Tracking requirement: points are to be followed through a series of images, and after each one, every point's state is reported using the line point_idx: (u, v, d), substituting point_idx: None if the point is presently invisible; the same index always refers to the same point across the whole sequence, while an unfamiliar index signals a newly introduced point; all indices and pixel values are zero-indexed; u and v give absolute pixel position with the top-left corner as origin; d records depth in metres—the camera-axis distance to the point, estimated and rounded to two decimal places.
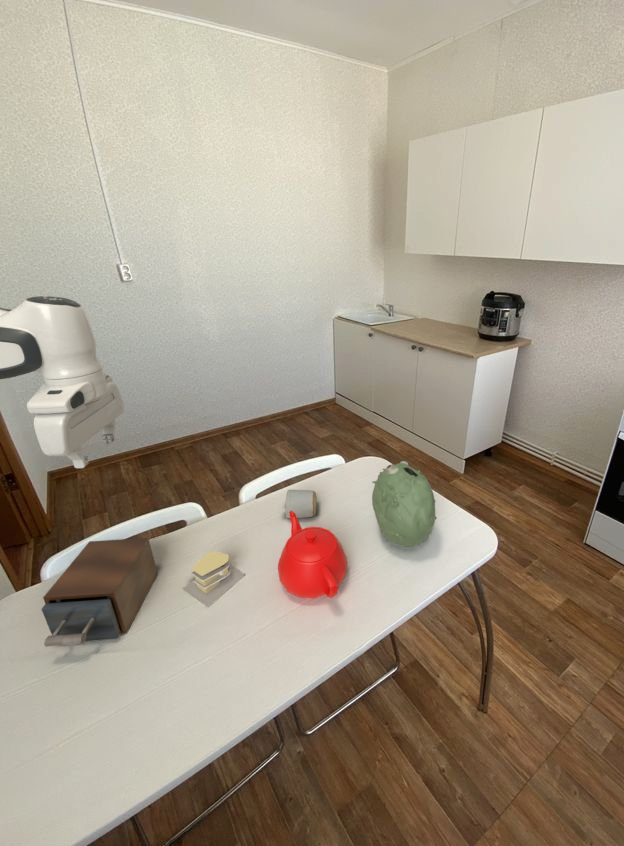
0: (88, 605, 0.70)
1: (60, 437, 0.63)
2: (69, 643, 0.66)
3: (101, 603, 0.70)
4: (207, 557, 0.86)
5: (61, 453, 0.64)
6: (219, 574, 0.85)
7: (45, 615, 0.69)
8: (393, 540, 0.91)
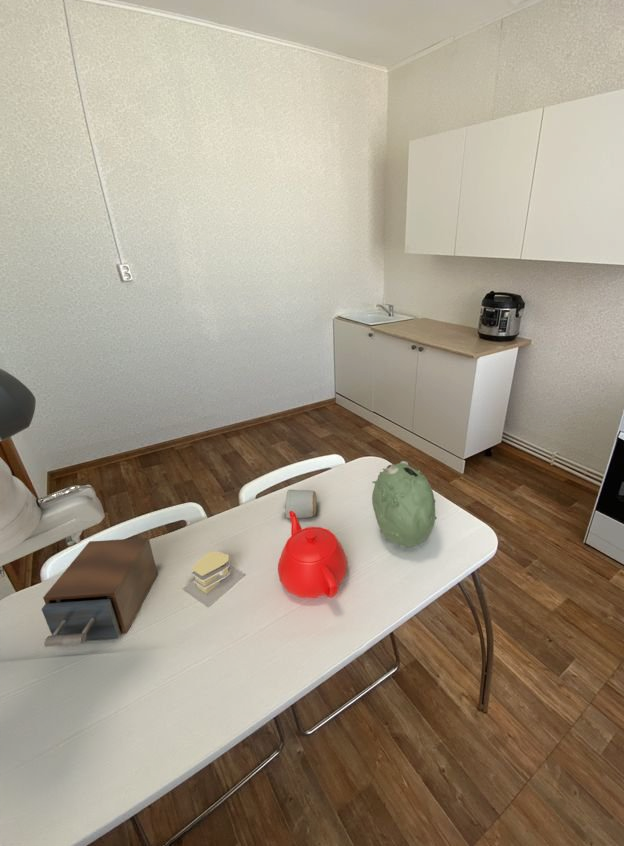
0: (88, 605, 0.70)
1: None
2: (69, 643, 0.66)
3: (101, 603, 0.70)
4: (207, 557, 0.86)
5: None
6: (219, 574, 0.85)
7: (45, 615, 0.69)
8: (393, 540, 0.91)
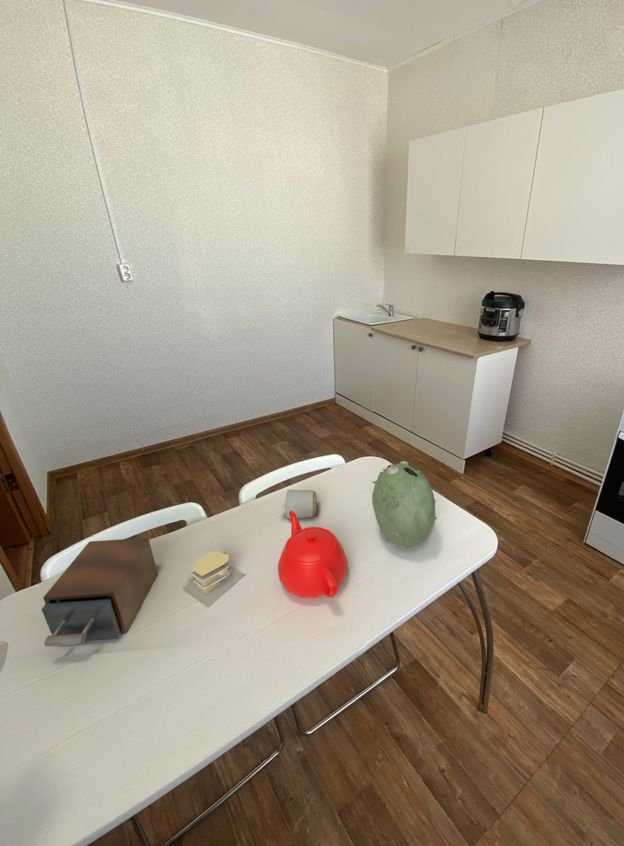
0: (88, 605, 0.70)
1: None
2: (69, 643, 0.66)
3: (101, 603, 0.70)
4: (207, 557, 0.86)
5: None
6: (219, 574, 0.85)
7: (45, 615, 0.69)
8: (393, 540, 0.91)
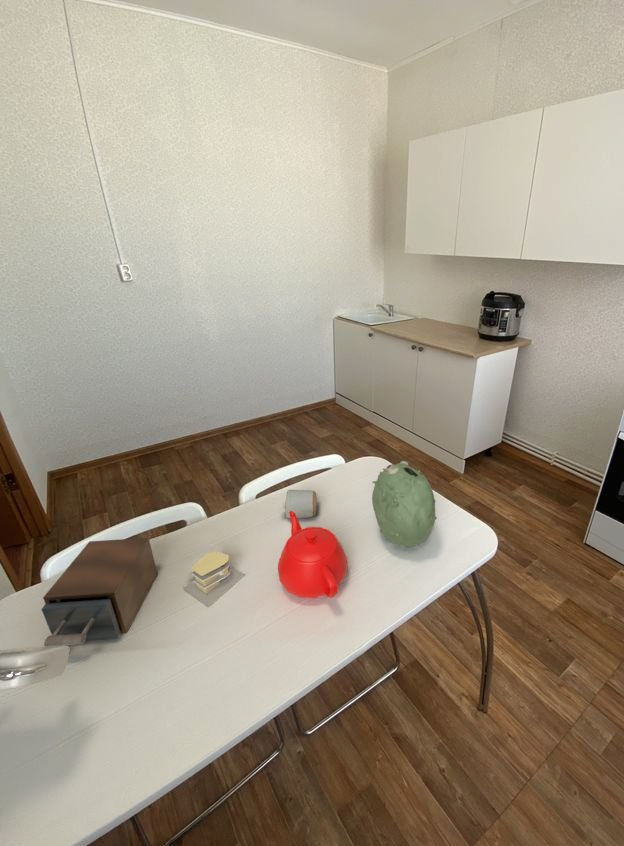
0: (88, 605, 0.70)
1: None
2: (69, 643, 0.66)
3: (101, 603, 0.70)
4: (207, 557, 0.86)
5: None
6: (219, 574, 0.85)
7: (45, 615, 0.69)
8: (393, 540, 0.91)
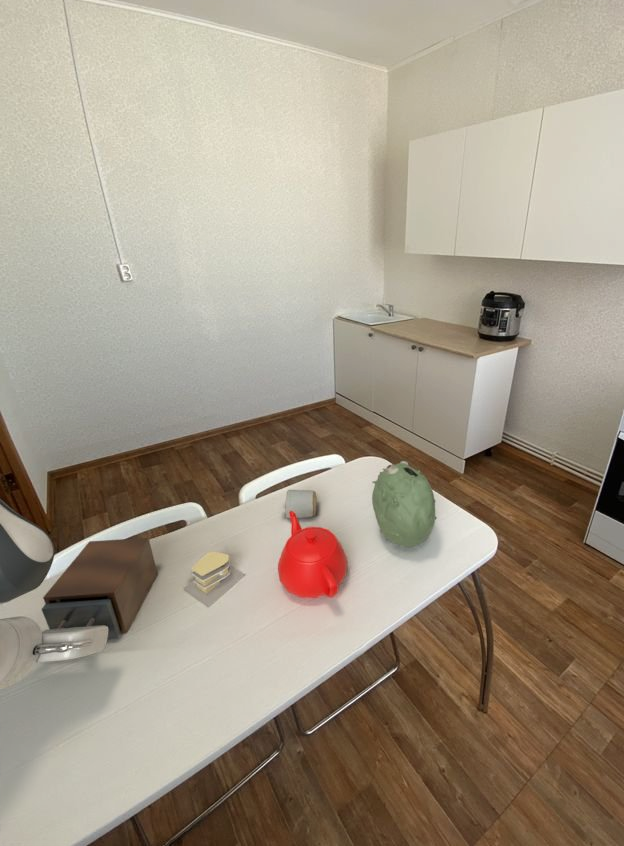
0: (88, 605, 0.70)
1: None
2: None
3: (101, 603, 0.70)
4: (207, 557, 0.86)
5: None
6: (219, 574, 0.85)
7: (45, 615, 0.70)
8: (393, 540, 0.91)
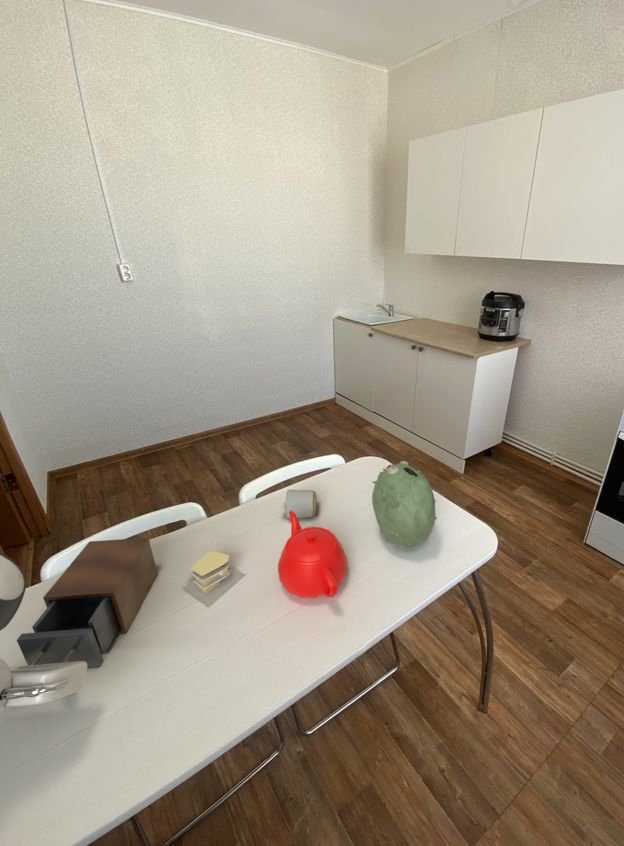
0: (67, 635, 0.64)
1: None
2: None
3: (81, 633, 0.64)
4: (207, 557, 0.86)
5: None
6: (219, 574, 0.85)
7: (21, 646, 0.64)
8: (393, 540, 0.91)
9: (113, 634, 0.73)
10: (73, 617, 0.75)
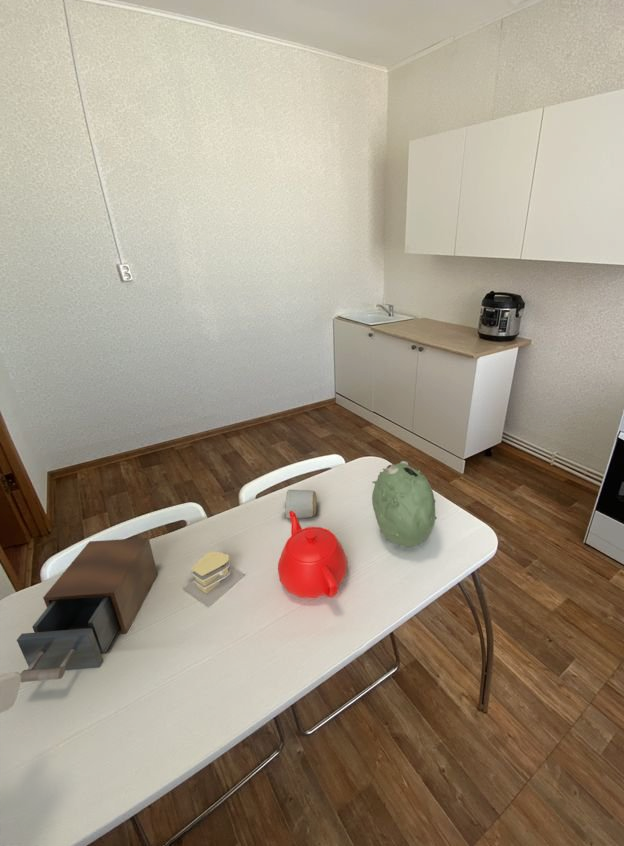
0: (67, 635, 0.64)
1: None
2: (46, 678, 0.61)
3: (81, 633, 0.64)
4: (207, 557, 0.86)
5: None
6: (219, 574, 0.85)
7: (21, 646, 0.64)
8: (393, 540, 0.91)
9: (113, 634, 0.73)
10: (73, 617, 0.75)
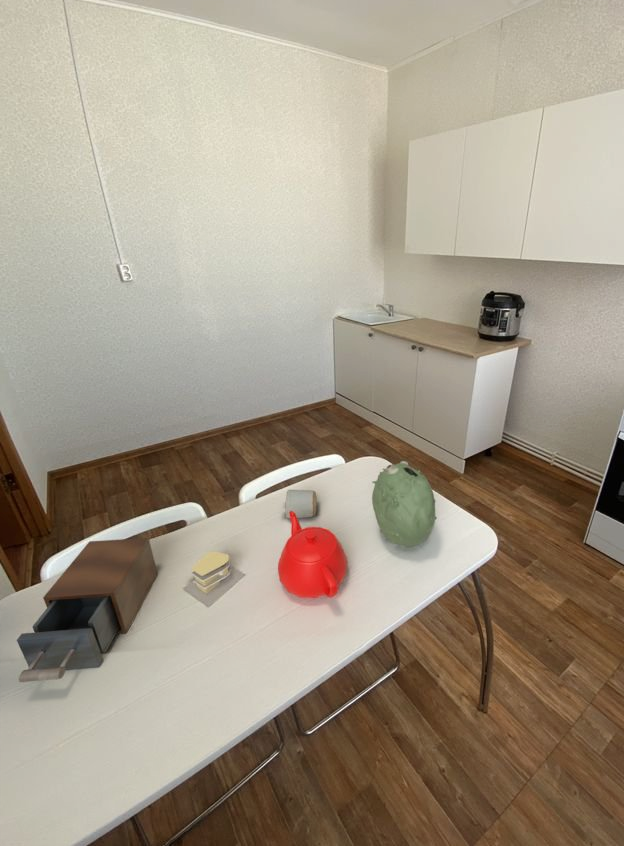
0: (67, 635, 0.64)
1: None
2: (46, 678, 0.61)
3: (81, 633, 0.64)
4: (207, 557, 0.86)
5: None
6: (219, 574, 0.85)
7: (21, 646, 0.64)
8: (393, 540, 0.91)
9: (113, 634, 0.73)
10: (73, 617, 0.75)
